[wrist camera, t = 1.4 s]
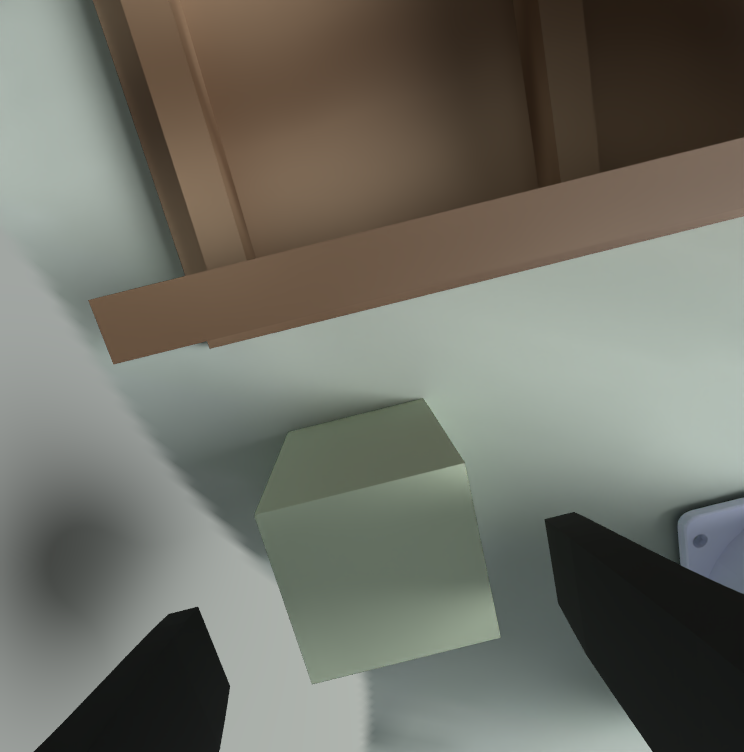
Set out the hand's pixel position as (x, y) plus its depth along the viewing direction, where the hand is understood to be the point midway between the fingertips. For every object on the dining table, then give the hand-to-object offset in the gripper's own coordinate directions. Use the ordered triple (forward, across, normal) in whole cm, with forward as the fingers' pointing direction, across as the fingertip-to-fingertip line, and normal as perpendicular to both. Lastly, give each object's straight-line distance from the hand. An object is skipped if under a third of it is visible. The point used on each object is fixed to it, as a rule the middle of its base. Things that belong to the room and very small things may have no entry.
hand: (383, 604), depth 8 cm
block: (+6, 0, 0) cm, 6 cm away
